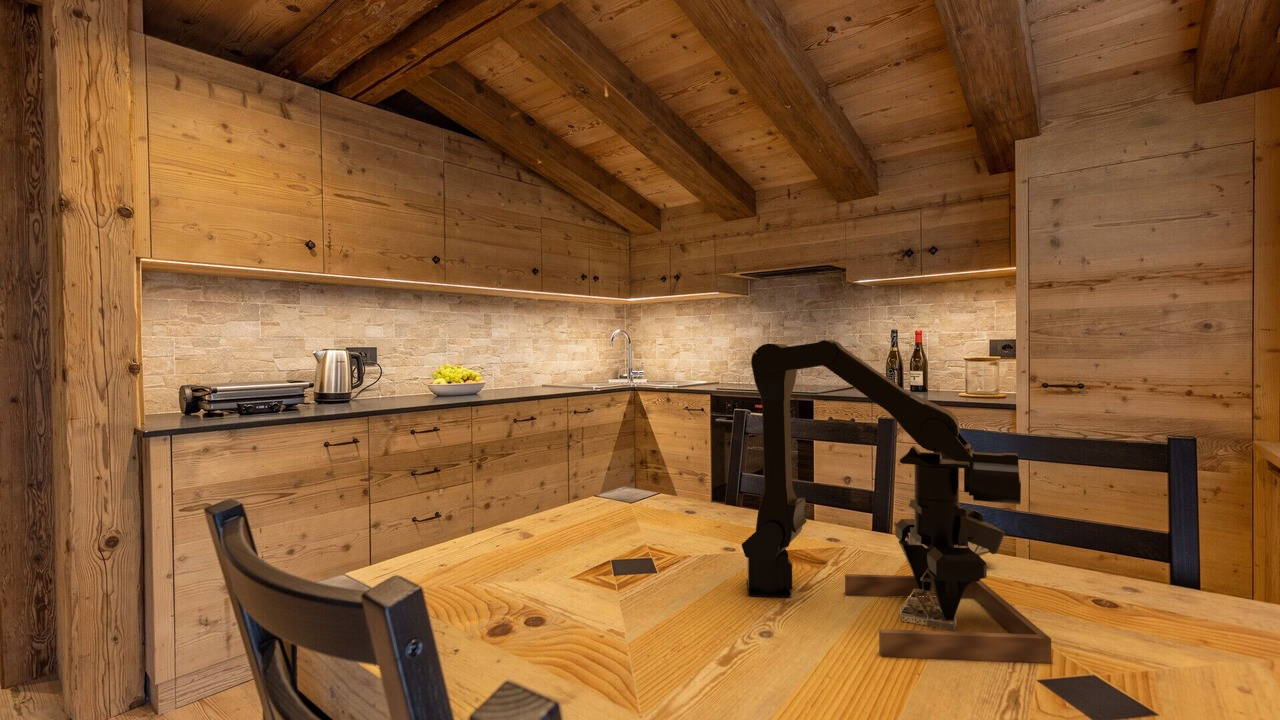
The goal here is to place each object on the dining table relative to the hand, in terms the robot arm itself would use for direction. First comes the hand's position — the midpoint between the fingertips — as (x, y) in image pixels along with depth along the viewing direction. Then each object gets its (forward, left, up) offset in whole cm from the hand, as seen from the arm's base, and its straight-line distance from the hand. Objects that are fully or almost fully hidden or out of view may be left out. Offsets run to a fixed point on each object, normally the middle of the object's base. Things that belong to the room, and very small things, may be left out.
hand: (936, 606), depth 89 cm
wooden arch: (-1, -2, -2) cm, 3 cm away
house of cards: (0, +1, -3) cm, 3 cm away
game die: (+13, +23, -2) cm, 27 cm away
